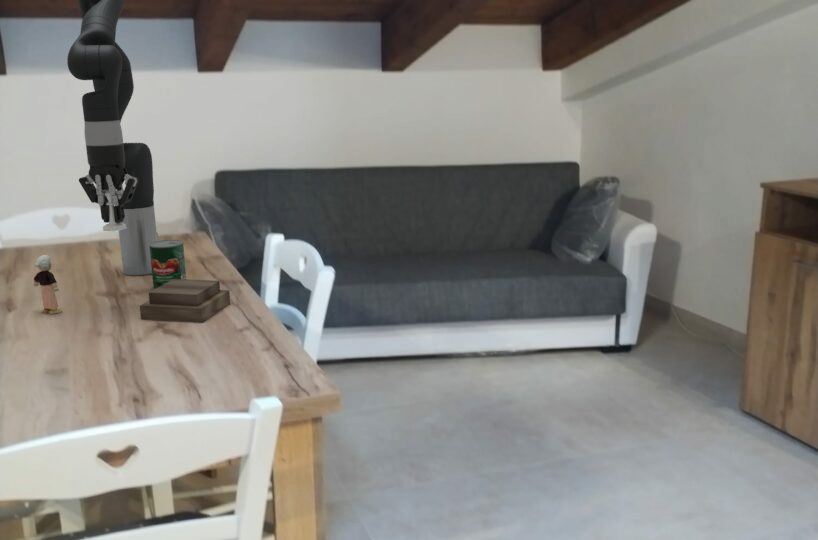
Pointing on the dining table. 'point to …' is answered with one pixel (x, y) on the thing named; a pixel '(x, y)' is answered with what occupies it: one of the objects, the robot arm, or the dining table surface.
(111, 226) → the chess piece
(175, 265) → the canned tomato
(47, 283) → the grandmother figurine
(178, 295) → the walnut pedestal
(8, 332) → the dining table surface
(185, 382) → the dining table surface
